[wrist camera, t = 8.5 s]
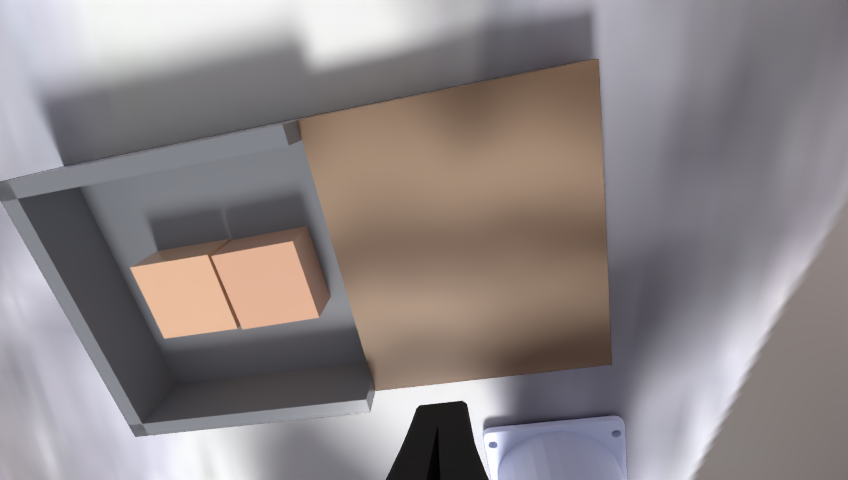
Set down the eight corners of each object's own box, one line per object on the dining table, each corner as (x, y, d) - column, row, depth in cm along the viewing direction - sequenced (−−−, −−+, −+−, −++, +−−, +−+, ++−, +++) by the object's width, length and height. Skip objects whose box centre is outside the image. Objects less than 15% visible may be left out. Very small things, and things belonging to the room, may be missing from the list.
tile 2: (255, 307, 23) (237, 328, 21) (187, 317, 23) (164, 338, 21) (229, 238, 21) (207, 255, 19) (157, 250, 22) (129, 267, 20)
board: (598, 340, 22) (612, 364, 21) (381, 366, 24) (375, 391, 22) (583, 60, 18) (598, 58, 16) (311, 115, 19) (296, 120, 17)
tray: (381, 366, 24) (369, 412, 21) (175, 390, 26) (135, 436, 23) (311, 115, 19) (282, 124, 16) (62, 166, 21) (-10, 183, 18)
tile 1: (330, 296, 22) (319, 317, 20) (259, 308, 23) (242, 329, 21) (307, 225, 21) (292, 241, 19) (232, 240, 21) (211, 256, 19)
